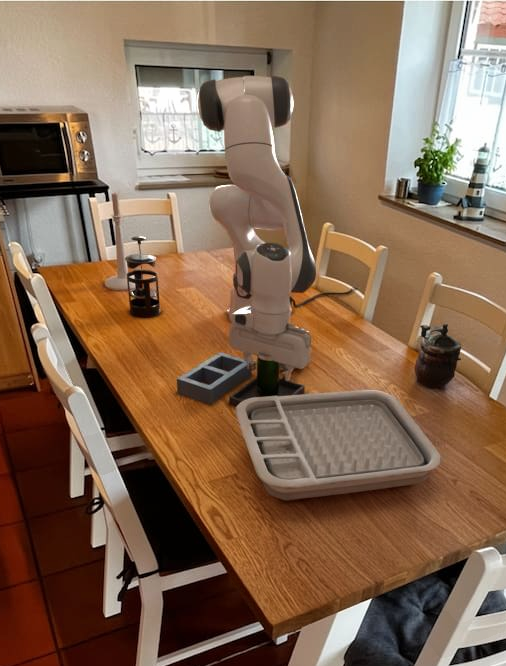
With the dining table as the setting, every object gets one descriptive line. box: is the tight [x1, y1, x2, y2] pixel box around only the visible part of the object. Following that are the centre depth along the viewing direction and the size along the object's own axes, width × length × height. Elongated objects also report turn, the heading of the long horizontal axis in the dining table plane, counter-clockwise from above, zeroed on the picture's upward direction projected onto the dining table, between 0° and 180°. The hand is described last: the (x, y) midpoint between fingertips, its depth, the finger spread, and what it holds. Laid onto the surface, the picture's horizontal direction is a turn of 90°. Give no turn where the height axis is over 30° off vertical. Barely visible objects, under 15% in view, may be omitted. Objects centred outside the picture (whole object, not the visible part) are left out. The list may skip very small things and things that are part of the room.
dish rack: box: [235, 389, 442, 501], centre depth 121 cm, size 32×37×8 cm
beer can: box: [256, 353, 281, 397], centre depth 139 cm, size 5×5×12 cm
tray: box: [228, 376, 306, 408], centre depth 142 cm, size 15×12×2 cm
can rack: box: [176, 351, 253, 405], centre depth 146 cm, size 18×10×4 cm, turn 153°
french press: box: [125, 235, 162, 319], centre depth 177 cm, size 12×9×23 cm
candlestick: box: [104, 192, 136, 292], centre depth 194 cm, size 13×13×30 cm
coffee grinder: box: [414, 322, 462, 389], centre depth 151 cm, size 13×15×18 cm
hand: (268, 374), depth 139 cm, fingers open, 8 cm apart
